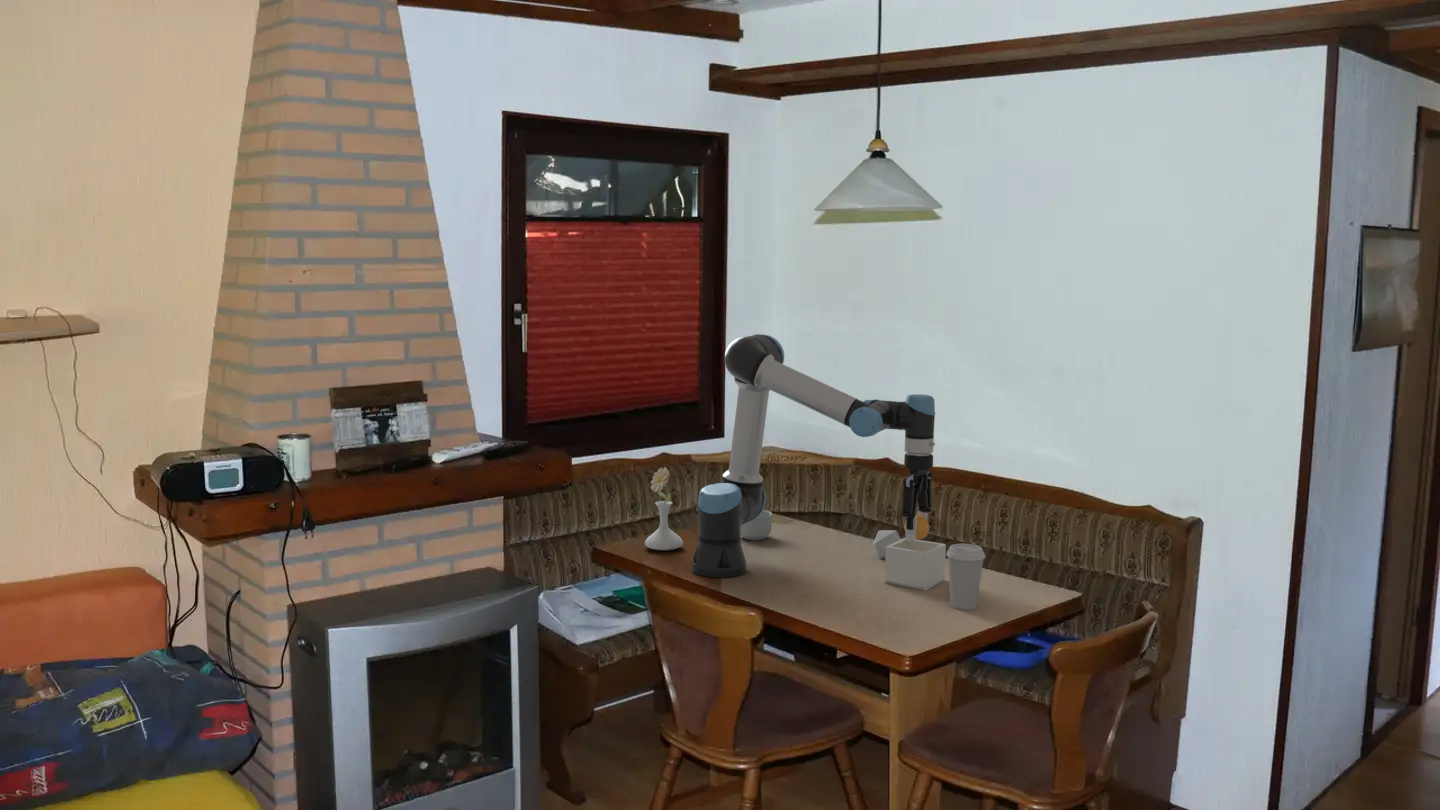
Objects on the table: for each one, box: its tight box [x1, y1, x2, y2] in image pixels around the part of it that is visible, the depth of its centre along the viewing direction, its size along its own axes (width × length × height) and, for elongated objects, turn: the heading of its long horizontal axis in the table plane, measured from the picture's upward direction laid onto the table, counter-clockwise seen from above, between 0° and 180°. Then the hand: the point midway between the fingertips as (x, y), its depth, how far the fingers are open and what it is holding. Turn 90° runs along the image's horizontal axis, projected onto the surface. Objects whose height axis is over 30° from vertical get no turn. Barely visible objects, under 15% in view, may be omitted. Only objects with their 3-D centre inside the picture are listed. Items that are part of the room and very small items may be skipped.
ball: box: [904, 514, 930, 540], centre depth 312 cm, size 6×6×6 cm
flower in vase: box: [644, 466, 684, 551], centre depth 344 cm, size 13×11×25 cm
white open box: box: [884, 537, 947, 592], centre depth 314 cm, size 12×12×10 cm
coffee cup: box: [945, 543, 986, 611], centre depth 292 cm, size 10×10×15 cm
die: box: [872, 529, 902, 560], centre depth 339 cm, size 8×9×10 cm
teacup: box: [741, 509, 773, 541], centre depth 361 cm, size 14×11×8 cm
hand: (916, 538), depth 313 cm, fingers closed on ball, 6 cm apart
